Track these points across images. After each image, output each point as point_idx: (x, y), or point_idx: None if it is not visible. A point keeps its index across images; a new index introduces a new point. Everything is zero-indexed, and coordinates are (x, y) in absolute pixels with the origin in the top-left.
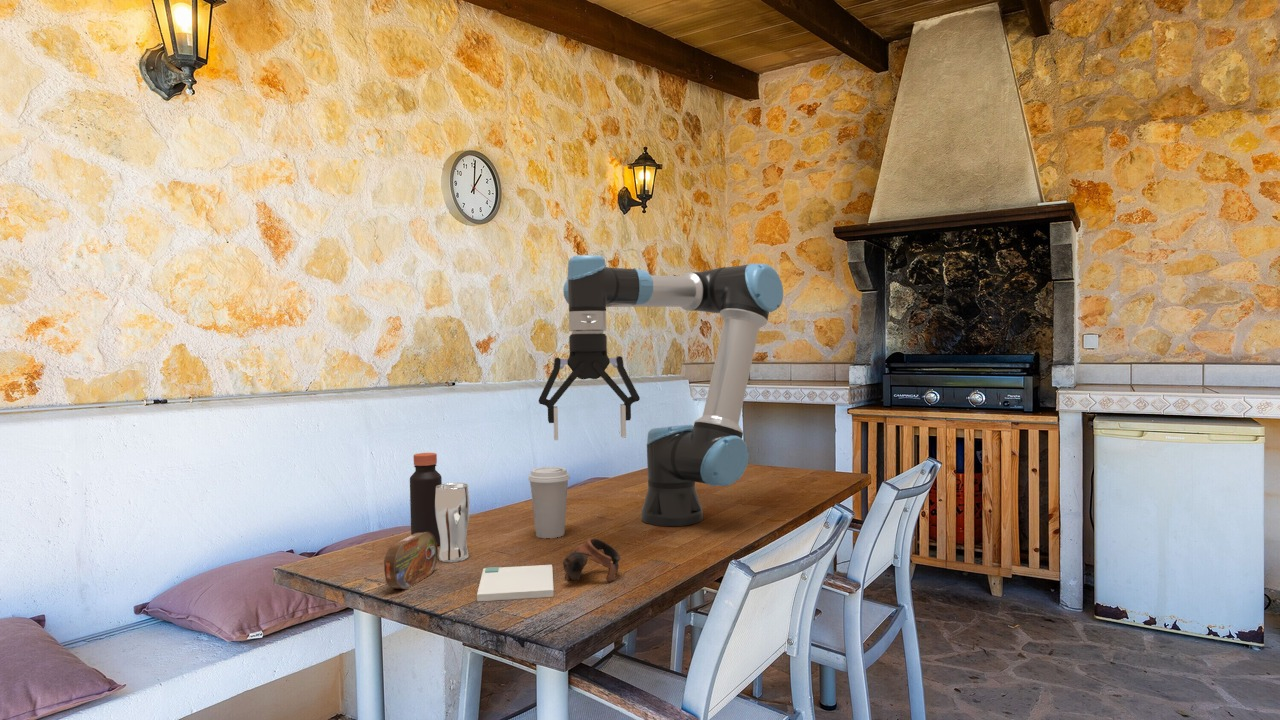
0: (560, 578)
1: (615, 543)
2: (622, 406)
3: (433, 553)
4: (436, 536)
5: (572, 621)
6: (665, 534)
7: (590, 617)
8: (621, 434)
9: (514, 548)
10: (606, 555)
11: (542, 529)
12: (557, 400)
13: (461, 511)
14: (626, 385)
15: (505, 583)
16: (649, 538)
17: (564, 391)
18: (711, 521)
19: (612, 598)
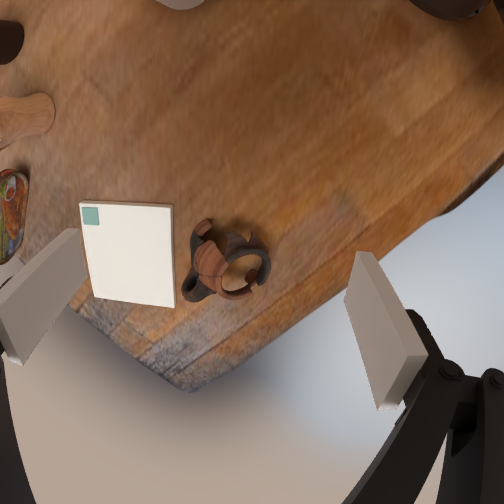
0: (184, 241)
1: (302, 70)
2: (380, 405)
3: (14, 181)
4: (8, 54)
5: (196, 360)
6: (404, 50)
7: (213, 358)
8: (353, 279)
9: (116, 65)
10: (244, 295)
11: (163, 4)
12: (5, 388)
13: (1, 147)
14: (443, 497)
15: (116, 271)
16: (371, 62)
17: (14, 439)
18: (487, 19)
19: (243, 323)
